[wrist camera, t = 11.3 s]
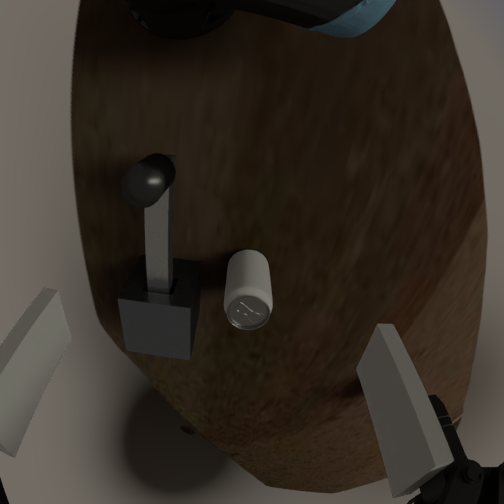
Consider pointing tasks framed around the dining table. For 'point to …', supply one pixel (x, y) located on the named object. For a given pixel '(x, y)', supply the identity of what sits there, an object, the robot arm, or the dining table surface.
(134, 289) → the housing
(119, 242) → the dining table surface
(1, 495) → the robot arm
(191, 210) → the dining table surface
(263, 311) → the can
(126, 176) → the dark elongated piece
